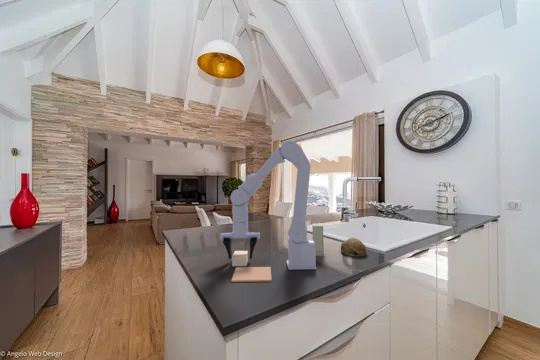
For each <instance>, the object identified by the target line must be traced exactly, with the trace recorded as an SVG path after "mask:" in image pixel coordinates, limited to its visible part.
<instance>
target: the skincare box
mask: <svg viewBox="0 0 540 360" xmlns="http://www.w3.org/2000/svg"><path fill="white" fill-rule="evenodd" d="M311 226H312V227H311V228H312V240H313V241H314V243H315V250H316V257H324V256H325V254H324V252H325V250H324V249H325V247H324V245H325V244H324V224H323V223H312V225H311Z"/></svg>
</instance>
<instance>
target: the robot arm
mask: <svg viewBox="0 0 540 360" xmlns="http://www.w3.org/2000/svg"><path fill="white" fill-rule="evenodd" d="M286 161H288V162H290V163H291V164H292V165H293V166H294V167H295V168H296V169H297V172H296V182H295V191H294V192H295V194H294V201H293V202H294V203H293V204H294V205H293V212H292V213H293V214H292V219H291V220H292V221H291V224H290V226H289V229H288V232H287V234H288V239H287V244H288V245H287V247H288V248H287V249H288V250H287V251H288V253H287V254H288V259H287V260H286V261H285V262H286V265H287V270H317V267H316V266H317V264H316V259H317V258H316V257H317V256H316V250H315V243H314V241H313V239H312V240H311V239H309V238H308V237H307V236H308V226H307V223H306V221H307V220H306V219H307V218H306V217H307V207H308V206H307V205H308V198H309V197H308V196H309V187H310V186H309V185H310V178H311V177H310V175H311V163H310V160H309V159H308V157H307V155H306V154H305V152H304V150H303V147H302V146H300V145H299V144H298V143H297V142H296V141H294V140H291V139H290V140H285V141H284V142H283V143H282V145H281V146H279V147H277V148H276V150H274V151H273V153H272V154H271V155H270V157H268V159H267V160H266V161H265V162H264V164H262V166H260V169H259V170H258V171H257V172H256V173H251V174H247V175H246V176H245V178H246V179H245V180H244V181H243V182H242V183H241V185H238V186H237V188H238V189H234V190H232V192H231V194H230V201H231V202H230V203H231V204H232V231H231V232H221V233H220V237H219V238H220V240H223V241H222V243H223V245H224V247H225V249H226V252H227V255H228V256H227V257H228V259H229V260H232V256H233V253H232V241H233V239H234V240H235V239H236V240H238V239H240V240H241V239H243V240H244V239H245V240H246V239H247V240H248V239H250V240H249V259H250V260H252V259H253V252H254V249H255V246H256V244H257V241H258V240H260V239H261V233H260V232H251V231H249V209H248V208H249V207H248V206H249V204H248V203H249V201H250V198H251V197H252V196H253V195H254V194H256V192H257V191H258V190H259V189H260V188H261V187H262V185H263V182H264V181H263V180H264V178H266V176H267V175H269V174H270V173H271V171H273V169H274V168H275V167H276V166H277V165H279V164H283V163H286Z"/></svg>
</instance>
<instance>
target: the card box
mask: <svg viewBox="0 0 540 360" xmlns="http://www.w3.org/2000/svg"><path fill="white" fill-rule="evenodd" d="M248 261H249V250H234V252H233V253H232V258H231V266H232V267H247V265H248Z"/></svg>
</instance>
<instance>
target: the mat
mask: <svg viewBox="0 0 540 360" xmlns="http://www.w3.org/2000/svg"><path fill="white" fill-rule="evenodd" d="M258 282H260V283H261V282H262V283H263V282H267V283H268V282H272V267H271V266H235V270H234V272H233V274H232V278H231V283H258Z"/></svg>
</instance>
